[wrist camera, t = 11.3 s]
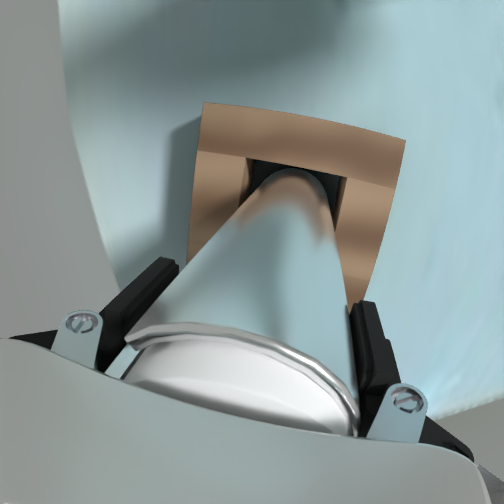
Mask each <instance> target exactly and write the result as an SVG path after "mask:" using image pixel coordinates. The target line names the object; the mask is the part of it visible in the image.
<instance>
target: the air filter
mask: <svg viewBox="0 0 504 504" xmlns="http://www.w3.org/2000/svg"><path fill="white" fill-rule="evenodd" d="M125 341H126V342H127V343H128V344H127V345H126V346H125V348H124V349H123V350H122V351H121V353H120V354H119V355H118V356H117V358H116V359H115V360H114V361H113V363H112V364H111V365H110V366H109V368H108V369H107V370H106V372H105V374H107V375H110V376H112V377H115V378H117V379H120V380H122V381H125V382H128V383H130V384H133V385H136V386H139V387H141V388H144V389H147V390H150V391H153V392H156V393H159V394H162V395H165V396H168V397H171V398H174V399H177V400H181V401H184V402H187V403H190V404H194V405H197V406H201V407H204V408H208V409H212V410H215V411H219V412H223V413H227V414H231V415H235V416H239V417H243V418H248V419H252V420H257V421H261V422H266V423H271V424H276V425H281V426H286V427H292V428H297V429H303V430H309V431H316V432H323V433H330V434H338V435H346V436H354V437H359V435H360V432H361V429H362V428H361V415H360V403H359V392H358V382H357V373H356V364H355V355H354V347H353V340H352V332H351V325H350V318H349V311H348V305H347V299H346V292H345V286H344V280H343V275H342V269H341V263H340V258H339V252H338V247H337V242H336V237H335V232H334V227H333V222H332V217H331V213H330V208H329V203H328V199H327V195H326V191H325V189H324V188H323V186H322V184H321V183H320V182H319V180H318V179H317V178H316V177H315V176H313V175H311V174H310V173H308V172H306V171H303V170H300V169H292V168H287V169H283V170H279V171H276V172H275V173H273V174H271V175H270V176H269V177H268V178H267V179H266V180H265V181H264V182H263V183H262V184H261V185H260V186H259V187H258V188H257V189H256V190H255V191H254V192H253V193H252V195H251V196H250V197H249V198H248V199H247V200H246V201H245V202H244V203H243V204H242V205H241V206H240V207H239V208H238V209H237V211H236V212H235V213H234V214H233V215H232V216H231V217H230V218H229V219H228V220H227V221H226V222H225V224H224V225H223V226H222V227H221V228H220V229H219V230H218V231H217V232H216V233H215V235H214V236H213V237H212V238H211V239H210V240H209V241H208V242H207V243H206V244H205V246H204V247H203V248H202V249H201V250H200V251H199V252H198V253H197V254H196V256H195V257H194V258H193V259H192V260H191V261H190V262H189V263H188V264H187V266H186V267H185V268H184V269H183V270H182V271H181V272H180V273H179V275H178V276H177V277H176V278H175V279H174V280H173V281H172V283H171V284H170V285H169V286H168V287H167V288H166V289H165V291H164V292H163V293H162V294H161V295H160V296H159V297H158V299H157V300H156V301H155V302H154V303H153V304H152V306H151V307H150V308H149V309H148V310H147V311H146V313H145V314H144V315H143V316H142V317H141V318H140V320H139V321H138V322H137V323H136V324H135V325H134V327H133V328H132V329H131V330H130V331H129V333H128V334H127V335H126V336H125Z"/></svg>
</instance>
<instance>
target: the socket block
mask: <svg viewBox="0 0 504 504" xmlns="http://www.w3.org/2000/svg"><path fill="white" fill-rule="evenodd" d="M405 143H406V140H403V139H399V138H396V137H392V136H389V135H385V134H382V133H378V132H374V131H370V130H366V129H362V128H358V127H354V126H350V125H346V124H341V123H337V122H332V121H328V120H323V119H318V118H313V117H308V116H302V115H297V114H291V113H285V112H279V111H272V110H266V109H259V108H251V107H243V106H235V105H226V104H216V103H205V102H204V103H203V110H202V117H201V124H200V132H199V140H198V148H197V156H196V164H195V173H194V183H193V192H192V202H191V213H190V224H189V236H188V249H187V263H186V266H187V264H188V263H189V262H190V261H191V260H192V259H193V258H194V257H195V256H196V254H197V253H198V252H199V251H200V250H201V249H202V248H203V247H204V246H205V244H206V243H207V242H208V241H209V240H210V239H211V238H212V237H213V236H214V235H215V233H216V232H217V231H218V230H219V229H220V228H221V227H222V226H223V225H224V224H225V222H226V221H227V220H228V219H229V218H230V217H231V216H232V215H233V214H234V213H235V212H236V211H237V209H238V208H239V207H240V206H241V205H242V204H243V203H244V202H245V201H246V200H247V199H248V198H249V197H250V190H251V183H252V177H253V170H254V164H255V159H257V160H263V161H269V162H275V163H280V164H286V165H291V166H296V167H301V168H306V169H311V170H316V171H321V172H325V173H330V174H335V175H339V176H340V180H339V184H338V189H337V194H336V198H335V203H334V208H333V212H332V216H331V217H332V222H333V227H334V232H335V237H336V242H337V247H338V252H339V258H340V263H341V269H342V275H343V280H344V286H345V292H346V299H347V305H348V311H349V314H350V311H351V308H352V306H353V304H354V303H358V302H359V301H360V300H363V299H364V296H365V293H366V290H367V287H368V284H369V281H370V278H371V275H372V272H373V269H374V266H375V262H376V259H377V256H378V253H379V249H380V246H381V242H382V239H383V235H384V232H385V228H386V224H387V221H388V217H389V213H390V209H391V205H392V201H393V197H394V193H395V189H396V185H397V181H398V176H399V172H400V167H401V162H402V158H403V153H404V148H405Z"/></svg>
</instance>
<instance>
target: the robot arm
mask: <svg viewBox="0 0 504 504" xmlns="http://www.w3.org/2000/svg"><path fill="white" fill-rule="evenodd" d="M178 275H179V265H178V264H175V260H172V259H168V258H164V257H159V258H158V259H157V260H156V261H155V262H153V263H152V264H151V265H150V266H149V267H148V268H147V269H146V270H145V271H143V272H142V273H141V274H140V275H139V276H138V277H137V278H136V279H135V280H134V281H132V282H131V283H130V284H129V285H128V286H127V287H126V288H125V289H124V290H123V291H122V292H121V293H120V294H118V296H116V297H115V298H114V299H113V300H112V301H111V302H110V303H109V304H108V305H107V306H106V307H105V308H104V309H103V310H102V311H101V312H100V313H99V314H97V313H96V312H93V311H90V310H78V311H74V312H71V313H69V314H68V315H66V316H65V317H64V318H63V320H62V322H61V324H60V327H59V329H58V330H53V331H46V332H39V333H33V334H26V335H19V336H14V337H10V338H8V339H7V338H0V504H504V482H503V481H501V480H500V479H499V478H497V477H496V476H495V475H493V474H492V473H491V472H489V471H488V470H487V469H486V468H484V467H483V466H482V465H480V464H479V465H478V466H477V467H476V465H475V464H474V457H473V454H472V452H471V451H470V449H469V448H468V447H467V446H466V445H465V444H463V443H462V442H461V441H459V440H458V439H457V438H455V437H454V436H453V435H451V434H450V433H449V432H447V431H446V430H444V429H443V428H442V427H440V426H439V425H438V424H436V423H435V422H434V421H433V420H431V419H430V418H429V417H427V416H426V412H427V408H428V402H427V399H426V397H425V396H424V394H423V393H422V392H421V391H420V390H419V389H417V388H416V387H414V386H412V385H409V384H404V383H401V380H400V376H399V372H398V368H397V365H396V361H395V357H394V353H393V350H392V346H391V343H390V340H388V339H385V336H384V333H383V329H382V325H381V322H380V318H379V315H378V311H377V308H376V305H375V303H374V302H369V301H364V300H360V301H359V302H358V303H354V304H353V306H352V308H351V311H350V314H349V318H350V325H351V332H352V340H353V347H354V355H355V364H356V373H357V382H358V392H359V403H360V415H361V428H362V429H361V432H360V435H359V437H354V436H346V435H338V434H330V433H323V432H316V431H309V430H303V429H297V428H292V427H286V426H281V425H276V424H271V423H266V422H261V421H257V420H252V419H248V418H243V417H239V416H235V415H231V414H227V413H223V412H219V411H215V410H212V409H208V408H204V407H201V406H197V405H194V404H190V403H187V402H184V401H181V400H177V399H174V398H171V397H168V396H165V395H162V394H159V393H156V392H153V391H150V390H147V389H144V388H141V387H139V386H136V385H133V384H130V383H128V382H125V381H122V380H120V379H117V378H115V377H112V376H110V375H107V374H105V372H106V370H107V369H108V368H109V366H110V365H111V364H112V363H113V361H114V360H115V359H116V358H117V356H118V355H119V354H120V353H121V351H122V350H123V349H124V348H125V346H126V345H127V344H128V343H127V342H126V341H125V336H126V335H127V334H128V333H129V331H130V330H131V329H132V328H133V327H134V325H135V324H136V323H137V322H138V321H139V320H140V318H141V317H142V316H143V315H144V314H145V313H146V311H147V310H148V309H149V308H150V307H151V306H152V304H153V303H154V302H155V301H156V300H157V299H158V297H159V296H160V295H161V294H162V293H163V292H164V291H165V289H166V288H167V287H168V286H169V285H170V284H171V283H172V281H173V280H174V279H175V278H176V277H177V276H178Z"/></svg>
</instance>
